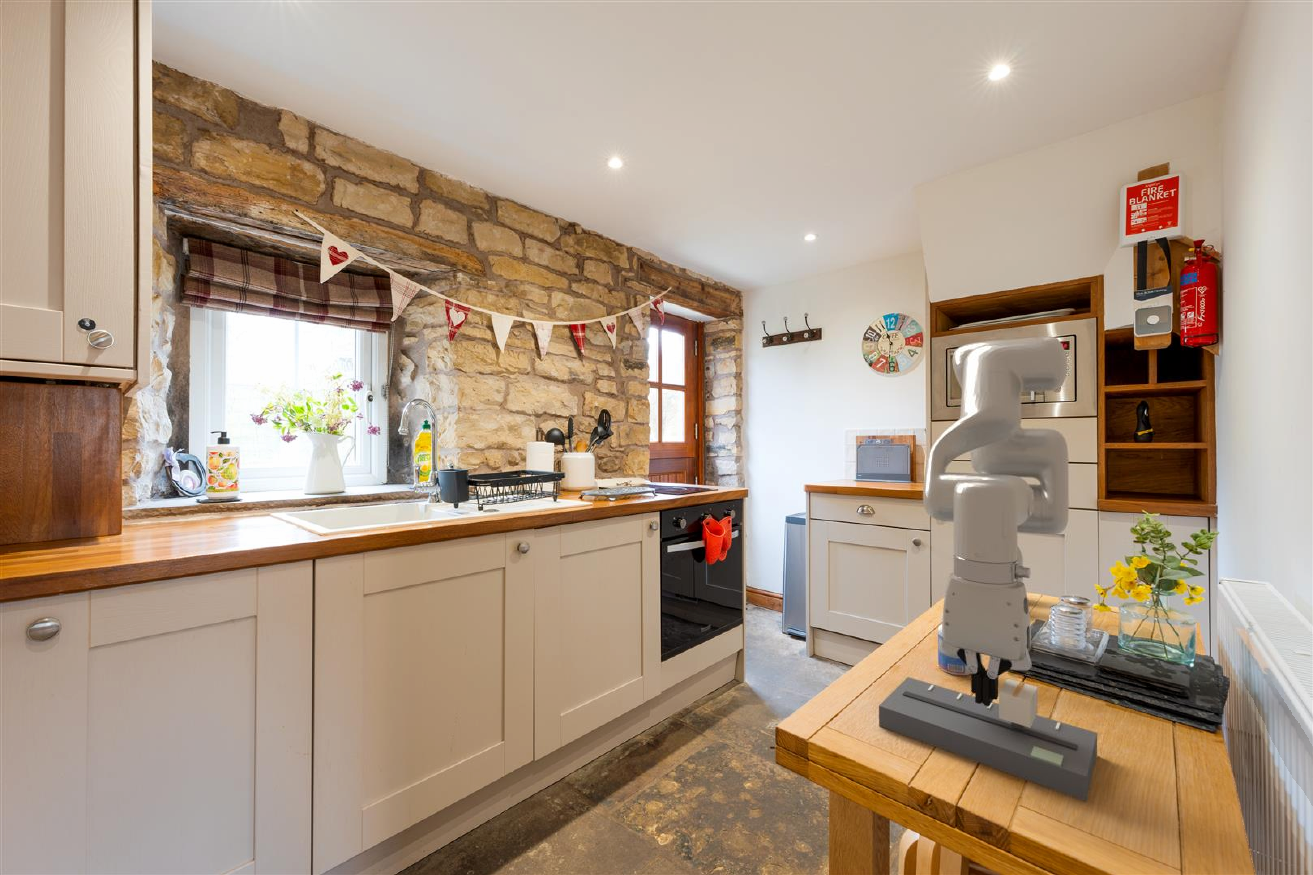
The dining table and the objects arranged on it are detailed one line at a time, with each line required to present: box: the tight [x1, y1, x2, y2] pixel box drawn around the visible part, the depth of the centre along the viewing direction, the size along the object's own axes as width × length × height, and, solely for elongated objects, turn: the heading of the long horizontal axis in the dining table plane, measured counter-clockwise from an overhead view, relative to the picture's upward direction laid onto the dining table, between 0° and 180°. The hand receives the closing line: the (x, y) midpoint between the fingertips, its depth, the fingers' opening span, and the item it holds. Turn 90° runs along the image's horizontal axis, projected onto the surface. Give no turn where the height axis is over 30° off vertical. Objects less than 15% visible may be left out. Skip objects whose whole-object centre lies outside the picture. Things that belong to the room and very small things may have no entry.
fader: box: [998, 678, 1039, 730], centre depth 73 cm, size 5×4×5 cm
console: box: [878, 676, 1098, 803], centre depth 76 cm, size 12×24×3 cm, turn 47°
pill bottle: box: [937, 612, 971, 676], centre depth 98 cm, size 6×5×10 cm
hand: (984, 700), depth 76 cm, fingers closed
